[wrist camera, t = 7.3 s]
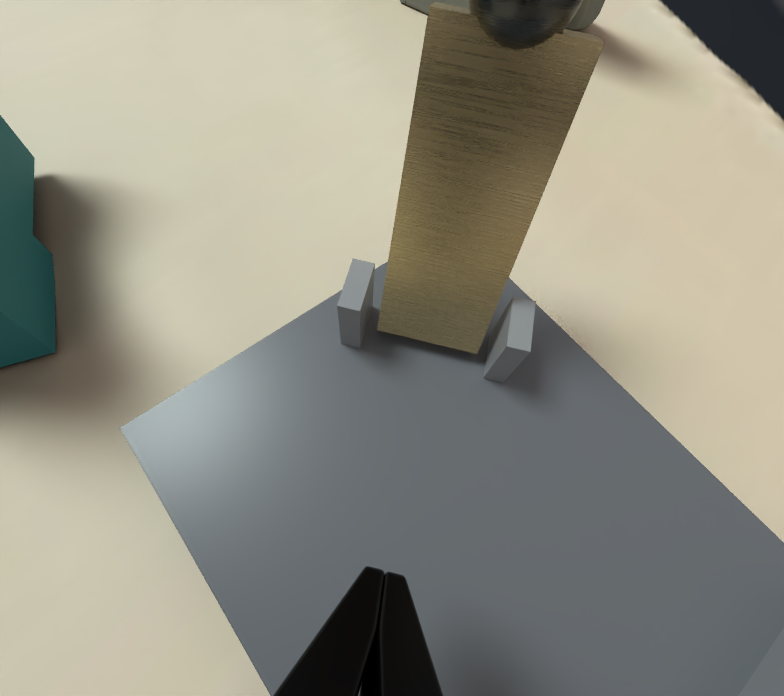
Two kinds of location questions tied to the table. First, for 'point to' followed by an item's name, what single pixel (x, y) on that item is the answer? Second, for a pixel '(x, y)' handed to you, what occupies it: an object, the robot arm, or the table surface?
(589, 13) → the digital clock
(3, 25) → the table surface
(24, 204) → the teal curved cradle
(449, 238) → the brass lever
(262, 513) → the control panel
